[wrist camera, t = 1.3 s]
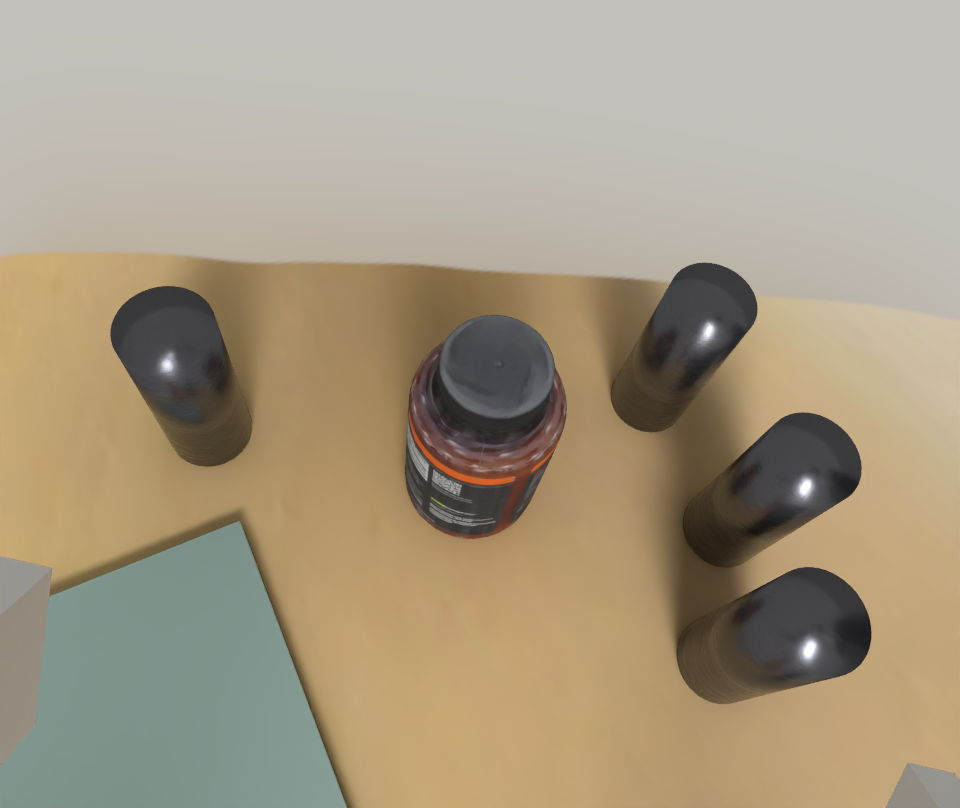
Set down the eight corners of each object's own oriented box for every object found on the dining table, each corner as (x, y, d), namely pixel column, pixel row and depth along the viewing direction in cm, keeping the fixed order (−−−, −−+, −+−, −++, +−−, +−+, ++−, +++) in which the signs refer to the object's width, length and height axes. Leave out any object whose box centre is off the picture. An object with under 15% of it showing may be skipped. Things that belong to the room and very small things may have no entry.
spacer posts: (595, 258, 43) (644, 136, 35) (838, 644, 36) (971, 602, 28) (160, 410, 37) (98, 304, 29) (341, 923, 29) (326, 974, 21)
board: (242, 526, 35) (239, 520, 34) (365, 855, 30) (365, 857, 30) (-111, 667, 31) (-123, 664, 30) (-34, 1072, 26) (-46, 1080, 26)
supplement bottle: (528, 422, 39) (580, 292, 29) (535, 542, 36) (595, 446, 26) (404, 420, 38) (412, 285, 28) (402, 542, 36) (411, 443, 25)
